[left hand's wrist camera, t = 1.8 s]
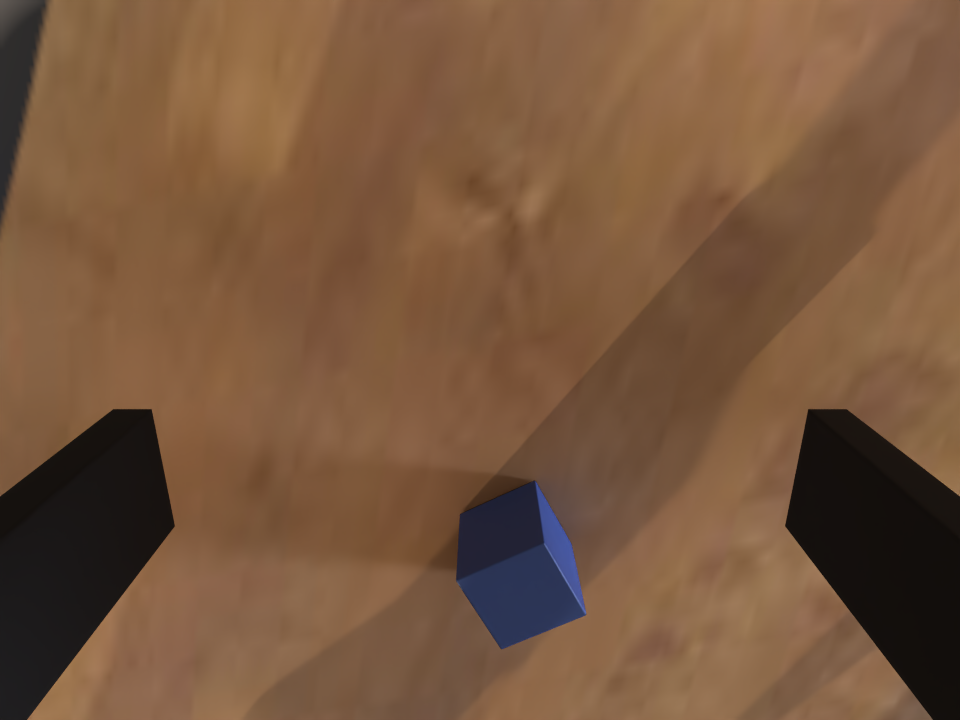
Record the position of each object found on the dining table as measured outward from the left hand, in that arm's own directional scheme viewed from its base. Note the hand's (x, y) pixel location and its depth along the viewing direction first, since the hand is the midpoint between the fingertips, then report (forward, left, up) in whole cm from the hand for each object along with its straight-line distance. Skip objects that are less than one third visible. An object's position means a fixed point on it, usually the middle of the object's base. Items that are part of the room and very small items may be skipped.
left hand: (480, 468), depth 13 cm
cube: (-10, +8, -15) cm, 20 cm away
